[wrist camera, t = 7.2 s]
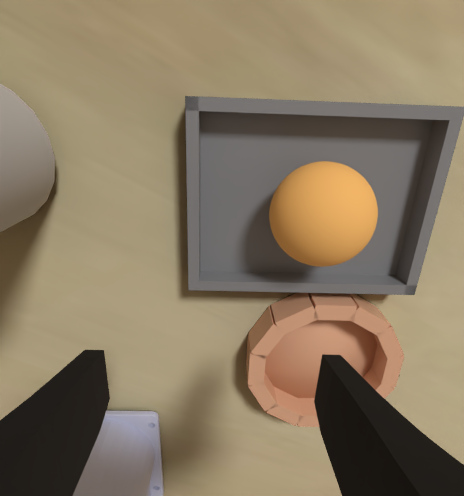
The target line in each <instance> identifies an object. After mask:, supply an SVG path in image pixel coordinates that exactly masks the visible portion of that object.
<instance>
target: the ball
mask: <svg viewBox="0 0 464 496" xmlns="http://www.w3.org/2000/svg"><path fill="white" fill-rule="evenodd" d="M377 218H378V207H377V201H376V197H375V194H374V192H373V190H372V188H371V186H370V185H369V183H368V182H367V181H366V179H365V178H364V177H363V176H362V175H361V174H359V173H358V172H357V171H355V170H354V169H352V168H350V167H348V166H346V165H344V164H341V163H336V162H330V161H320V162H314V163H310V164H307V165H304V166H301V167H299V168H297V169H296V170H294V171H293V172H291V173H290V174H289V175H288V176H286V177H285V178H284V179H283V181H282V182H281V183H280V184H279V186H278V187H277V189H276V191H275V193H274V195H273V198H272V200H271V204H270V210H269V220H270V226H271V230H272V233H273V236H274V238H275V240H276V241H277V243H278V244H279V246H280V247H281V248H282V249H283V251H284V252H286V253H287V254H288V255H289V256H290V257H292V258H293V259H295V260H297V261H299V262H301V263H304V264H307V265H311V266H319V267H324V266H333V265H337V264H341V263H343V262H346V261H348V260H350V259H351V258H353V257H354V256H356V255H357V254H358V253H359V252H361V251H362V250H363V249H364V247H365V246H366V245H367V244H368V242H369V241H370V239H371V237H372V236H373V233H374V231H375V228H376V224H377Z"/></svg>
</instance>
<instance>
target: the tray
mask: <svg viewBox="0 0 464 496" xmlns="http://www.w3.org/2000/svg"><path fill="white" fill-rule="evenodd" d="M185 107H186V167H187V227H188V288H189V290H203V291H251V292H299V293H346V294H394V295H414V294H415V291H416V287H417V283H418V280H419V276H420V273H421V269H422V265H423V262H424V258H425V254H426V251H427V247H428V243H429V240H430V236H431V233H432V229H433V225H434V222H435V218H436V214H437V211H438V207H439V203H440V200H441V196H442V193H443V189H444V185H445V182H446V178H447V174H448V171H449V167H450V164H451V160H452V156H453V153H454V149H455V145H456V142H457V138H458V134H459V131H460V127H461V124H462V120H463V116H464V107H454V106H428V105H402V104H376V103H350V102H324V101H298V100H272V99H247V98H221V97H195V96H185ZM320 161H330V162H336V163H341V164H344V165H346V166H348V167H350V168H352V169H354V170H355V171H357V172H358V173H359V174H361V175H362V176H363V177H364V178H365V179H366V181H367V182H368V183H369V185H370V186H371V188H372V190H373V192H374V194H375V197H376V201H377V207H378V218H377V224H376V228H375V231H374V233H373V236H372V237H371V239H370V241H369V242H368V244H367V245H366V246H365V247H364V249H363V250H362V251H361V252H359V253H358V254H357V255H356V256H354V257H353V258H351V259H350V260H348V261H346V262H343V263H341V264H337V265H333V266H324V267H319V266H311V265H307V264H304V263H301V262H299V261H297V260H295V259H293V258H292V257H290V256H289V255H288V254H287V253H286V252H284V251H283V249H282V248H281V247H280V246H279V244H278V243H277V241H276V240H275V238H274V236H273V233H272V230H271V226H270V220H269V210H270V204H271V200H272V198H273V195H274V193H275V191H276V189H277V187H278V186H279V184H280V183H281V182H282V181H283V179H284V178H285V177H286V176H288V175H289V174H290V173H291V172H293V171H294V170H296V169H297V168H299V167H301V166H304V165H307V164H310V163H314V162H320Z"/></svg>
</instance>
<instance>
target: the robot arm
mask: <svg viewBox="0 0 464 496" xmlns="http://www.w3.org/2000/svg"><path fill="white" fill-rule="evenodd" d="M109 399H110V397H109V389H108V381H107V372H106V364H105V356H104V350H84V351H83V352H82V353H81V354H80V355H78V356H77V357H76V358H75V359H74V360H73V361H71V362H70V363H69V364H68V365H67V366H66V367H65V368H63V369H62V370H61V371H60V372H59V373H58V374H57V375H55V376H54V377H53V378H52V379H51V380H50V381H49V382H47V383H46V384H45V385H44V386H43V387H41V388H40V389H39V390H38V391H37V392H35V393H34V394H33V395H32V396H31V397H30V398H28V399H27V400H26V401H24V402H23V403H22V404H21V405H19V406H18V407H17V408H16V409H14V410H13V411H12V412H10V413H9V414H8V415H7V416H5V417H4V418H3V419H2V420H0V496H163V493H164V487H163V471H162V456H161V441H160V425H159V415H158V414H157V413H156V412H154V411H106V410H107V406H108V403H109ZM314 403H315V408H316V413H317V418H318V422H319V427H320V431H321V435H322V438H323V441H324V444H325V447H326V450H327V453H328V456H329V458H330V461H331V464H332V467H333V470H334V473H335V476H336V479H337V482H338V485H339V488H340V490H341V493H342V496H464V465H463V464H462V463H460V462H459V461H458V460H456V459H455V458H454V457H452V456H451V455H450V454H448V453H447V452H446V451H445V450H443V449H442V448H441V447H439V446H438V445H437V444H436V443H434V442H433V441H432V440H430V439H429V438H428V437H427V436H426V435H424V434H423V433H422V432H421V431H420V430H418V429H417V428H416V427H415V426H414V425H413V424H412V423H410V422H409V421H408V420H407V419H406V418H405V417H404V416H402V415H401V414H400V413H399V412H398V411H397V410H396V409H395V408H394V407H393V406H391V405H390V404H389V403H388V402H387V401H386V400H385V399H384V398H383V397H382V396H381V395H380V394H379V393H378V392H377V391H376V390H375V389H374V388H373V387H372V386H371V385H370V384H369V383H368V382H367V381H366V380H365V379H364V378H363V377H362V376H361V375H360V374H359V373H358V372H357V371H356V370H355V369H354V368H353V367H352V366H351V365H350V364H349V363H348V362H347V361H346V360H345V359H344V358H343V357H342V356H341V355H325V354H322V359H321V365H320V370H319V376H318V382H317V387H316V393H315V399H314Z"/></svg>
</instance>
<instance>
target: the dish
mask: <svg viewBox="0 0 464 496" xmlns="http://www.w3.org/2000/svg"><path fill="white" fill-rule="evenodd" d="M322 354H325V355H341V356H342V357H343V358H344V359H345V360H346V361H347V362H348V363H349V364H350V365H351V366H352V367H353V368H354V369H355V370H356V371H357V372H358V373H359V374H360V375H361V376H362V377H363V378H364V379H365V380H366V381H367V382H368V383H369V384H370V385H371V386H372V387H373V388H374V389H375V390H376V391H377V392H378V393H379V394H380V395H381V396H382V397H383V398H385V397H387V396H388V395H389V394H390V393H391V392H392V391H393V390H394V387H396V384H397V380H398V377H399V373H400V370H401V366H402V363H403V359H404V356H403V355H404V354H403V351H402V349H401V347H400V344H399V342H398V339H397V337H396V335H395V332H394V330H393V327H392V326H391V324H390V323H389V322H388V321H387V319H386V318H385V317H384V315H383V314H382V313H381V312H380V310H379V309H378V308H377V307H376V306H374V305H373V304H371V303H369V302H368V301H366V300H364V299H363V298H361V297H359V296H358V295H356V294H346V293H299V292H297V293H295V294H293V295H291V296H289V297H286V298H284V299H282V300H280V301H278V302H275V303H273V304H271V307H270V306H269V307H268V308H267V309H266V311H265V312H264V313H263V315H262V316H261V317H260V318H259V320H258V321H257V322H256V324H255V325H254V326H253V328H252V329H251V330H250V331H249V335H248V340H247V356H246V369H247V381H248V387H249V389H250V390H251V392H252V393H253V395H254V396H255V398H256V399H257V401H258V402H259V404H260V405H261V407H262V408H263V409H264V411H266V413H268V414H270V415H273V416H275V417H277V418H279V419H281V420H284V421H286V422H288V423H290V424H292V425H294V426H296V425H297V426H310V427H319V422H318V418H317V413H316V408H315V403H314V399H315V393H316V387H317V382H318V376H319V370H320V365H321V359H322Z"/></svg>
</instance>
